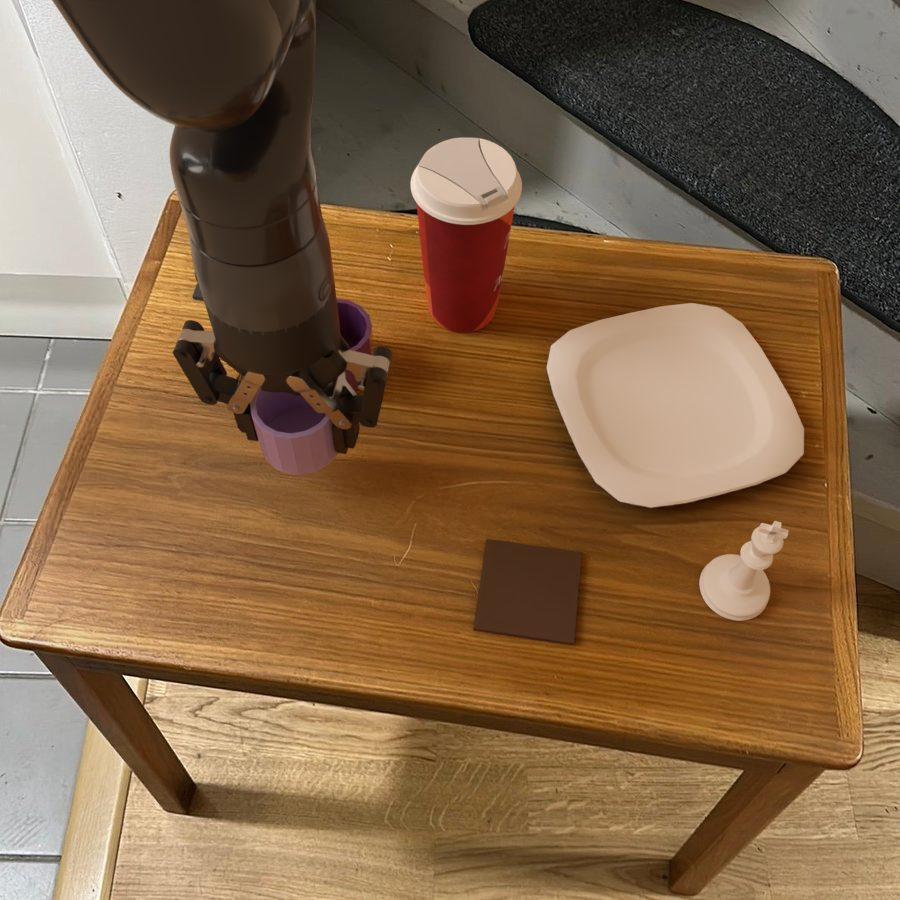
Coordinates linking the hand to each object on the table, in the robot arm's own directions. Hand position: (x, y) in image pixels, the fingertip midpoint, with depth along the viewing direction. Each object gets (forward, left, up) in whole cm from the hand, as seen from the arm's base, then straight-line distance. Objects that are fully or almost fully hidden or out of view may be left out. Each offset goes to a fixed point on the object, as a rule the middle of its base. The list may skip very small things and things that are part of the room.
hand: (300, 436), depth 67 cm
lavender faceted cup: (0, 0, -1) cm, 1 cm away
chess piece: (+32, -5, -5) cm, 33 cm away
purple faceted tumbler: (0, +10, -5) cm, 11 cm away
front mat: (+18, -7, -5) cm, 20 cm away
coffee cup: (+9, +18, -5) cm, 21 cm away
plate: (+27, +10, -5) cm, 30 cm away
